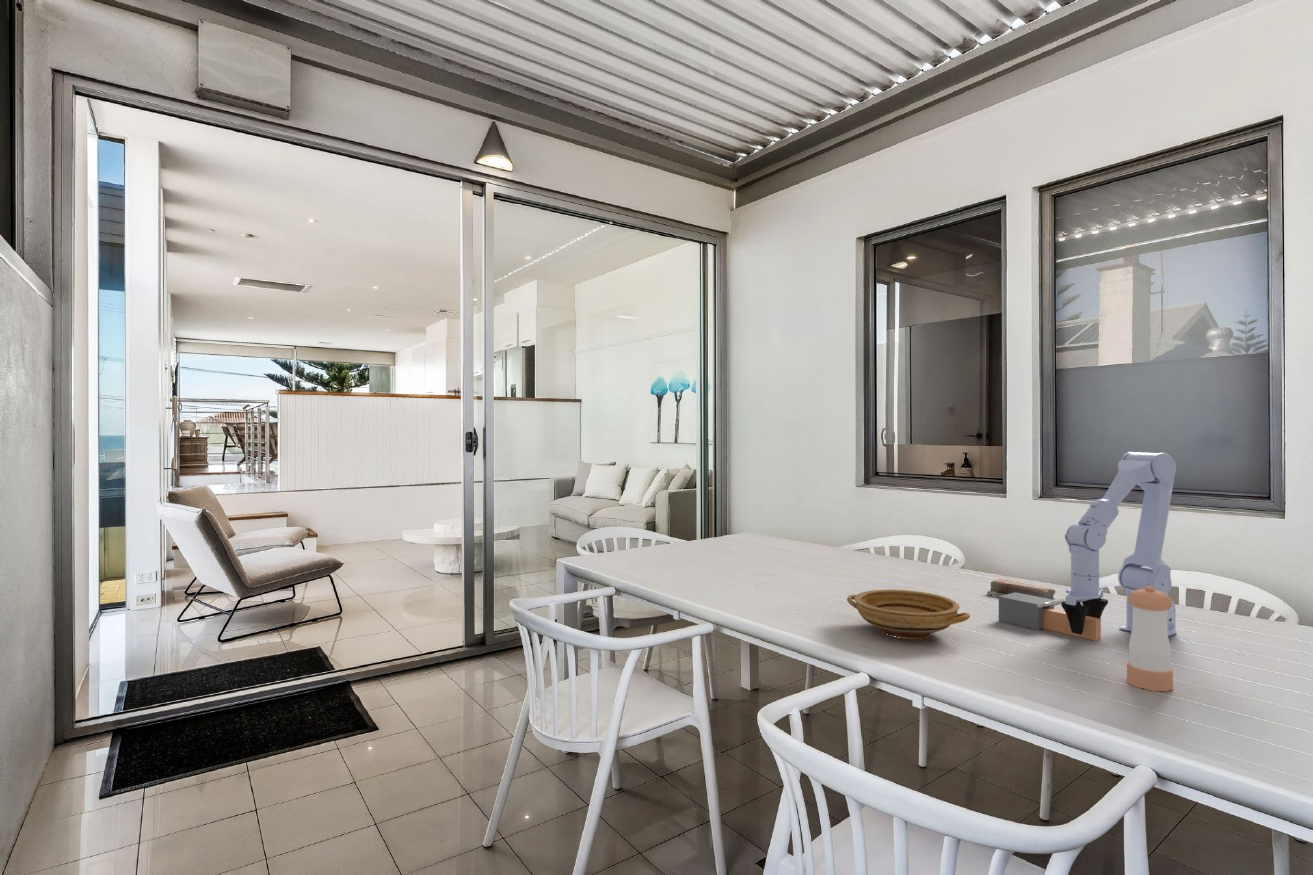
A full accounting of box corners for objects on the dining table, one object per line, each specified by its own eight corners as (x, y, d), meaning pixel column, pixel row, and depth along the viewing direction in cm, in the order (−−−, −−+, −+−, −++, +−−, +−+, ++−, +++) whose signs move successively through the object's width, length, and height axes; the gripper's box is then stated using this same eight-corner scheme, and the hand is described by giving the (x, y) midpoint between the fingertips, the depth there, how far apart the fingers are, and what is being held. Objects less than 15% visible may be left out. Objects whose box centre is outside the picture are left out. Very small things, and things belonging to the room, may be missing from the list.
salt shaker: (1153, 693, 128) (1154, 592, 127) (1117, 680, 135) (1117, 583, 134) (1182, 689, 130) (1182, 589, 129) (1145, 676, 137) (1145, 581, 136)
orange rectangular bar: (1100, 639, 161) (1100, 618, 161) (1096, 641, 160) (1096, 620, 160) (1032, 624, 175) (1032, 604, 175) (1027, 625, 173) (1027, 606, 173)
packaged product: (985, 580, 205) (1002, 576, 211) (985, 596, 205) (1002, 592, 211) (1048, 591, 190) (1064, 587, 196) (1048, 609, 190) (1064, 603, 196)
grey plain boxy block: (1057, 625, 172) (1057, 600, 172) (1040, 631, 168) (1040, 605, 168) (1015, 616, 181) (1015, 592, 181) (998, 621, 177) (998, 596, 177)
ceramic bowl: (983, 633, 166) (983, 600, 166) (953, 658, 148) (953, 621, 148) (867, 612, 185) (867, 583, 185) (827, 632, 167) (827, 600, 167)
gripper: (1081, 568, 170) (1081, 622, 171) (1052, 574, 162) (1052, 631, 162) (1112, 572, 165) (1112, 628, 165) (1083, 580, 156) (1083, 639, 157)
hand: (1084, 630), depth 163 cm, fingers open, 7 cm apart
